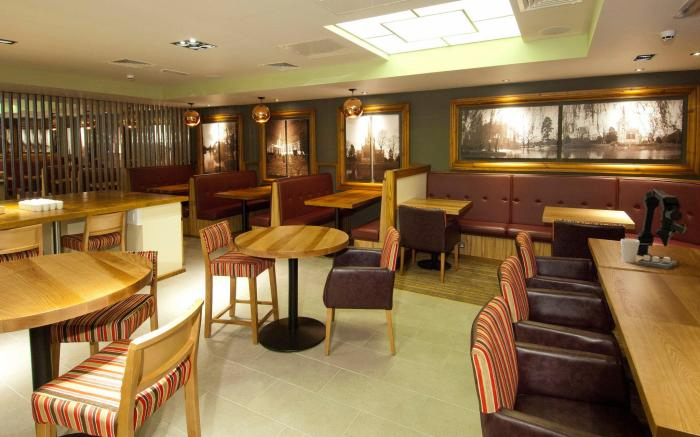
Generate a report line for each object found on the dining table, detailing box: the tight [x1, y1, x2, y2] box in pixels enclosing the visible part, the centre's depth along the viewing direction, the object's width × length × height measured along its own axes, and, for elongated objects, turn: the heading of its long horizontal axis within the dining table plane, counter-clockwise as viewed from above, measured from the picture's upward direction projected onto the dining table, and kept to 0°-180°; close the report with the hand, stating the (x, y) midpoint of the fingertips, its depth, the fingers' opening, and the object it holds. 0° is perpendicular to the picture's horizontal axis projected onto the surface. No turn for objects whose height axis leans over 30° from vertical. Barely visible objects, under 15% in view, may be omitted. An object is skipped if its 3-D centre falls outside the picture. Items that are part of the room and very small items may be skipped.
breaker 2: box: [662, 256, 671, 263], centre depth 247 cm, size 2×3×3 cm
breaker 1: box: [642, 255, 651, 261], centre depth 252 cm, size 2×3×3 cm
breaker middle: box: [652, 255, 660, 262], centre depth 249 cm, size 2×3×3 cm
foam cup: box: [620, 238, 640, 264], centre depth 258 cm, size 10×9×13 cm
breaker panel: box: [637, 256, 678, 270], centre depth 251 cm, size 16×15×2 cm
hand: (665, 246), depth 242 cm, fingers closed
